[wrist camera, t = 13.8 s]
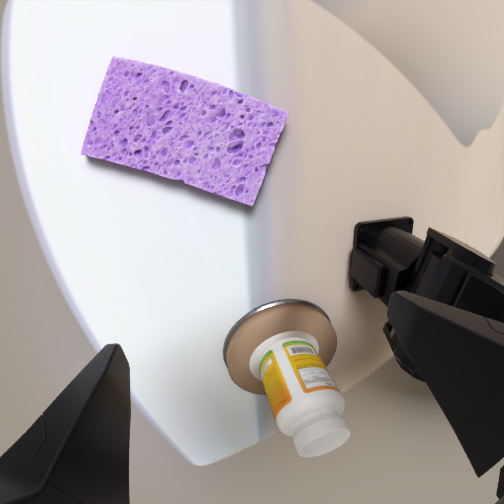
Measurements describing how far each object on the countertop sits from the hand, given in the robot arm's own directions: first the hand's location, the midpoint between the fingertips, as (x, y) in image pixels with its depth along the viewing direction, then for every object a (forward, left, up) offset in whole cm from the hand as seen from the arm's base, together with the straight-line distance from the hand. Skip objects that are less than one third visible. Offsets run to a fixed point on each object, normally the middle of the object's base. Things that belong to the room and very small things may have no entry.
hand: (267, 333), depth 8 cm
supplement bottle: (-4, +13, -11) cm, 18 cm away
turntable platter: (-4, +13, -13) cm, 19 cm away
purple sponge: (+2, -6, -14) cm, 15 cm away
